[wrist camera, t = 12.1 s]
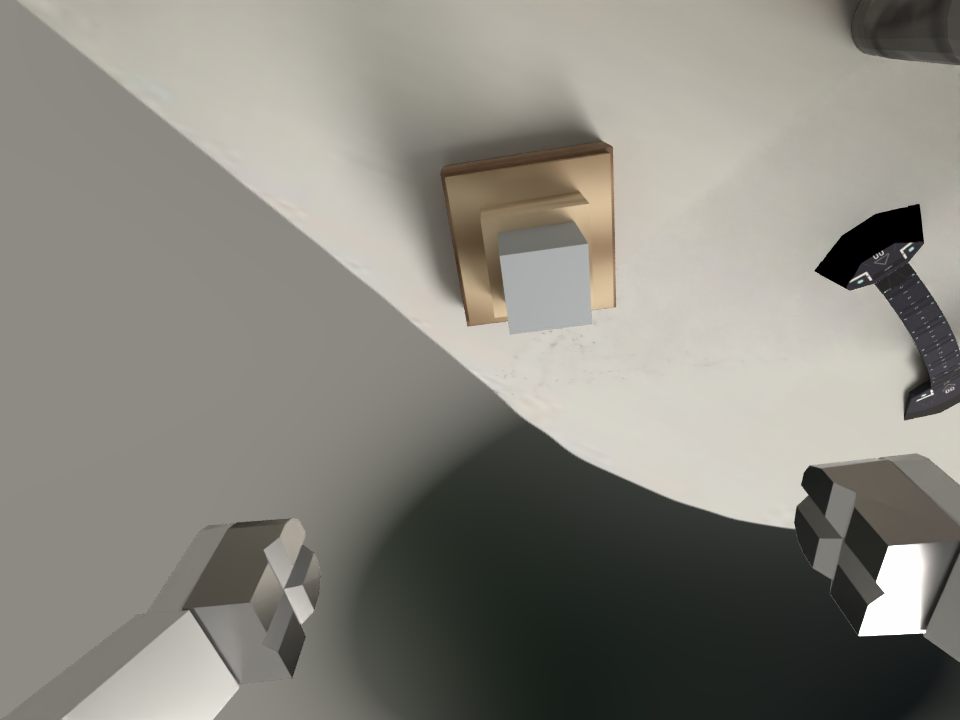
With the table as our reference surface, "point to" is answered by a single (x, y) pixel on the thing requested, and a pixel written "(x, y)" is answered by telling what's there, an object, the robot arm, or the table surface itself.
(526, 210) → the oak block
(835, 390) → the table surface
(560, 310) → the grey cube
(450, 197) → the plinth
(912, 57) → the beverage cup
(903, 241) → the black long flat piece
